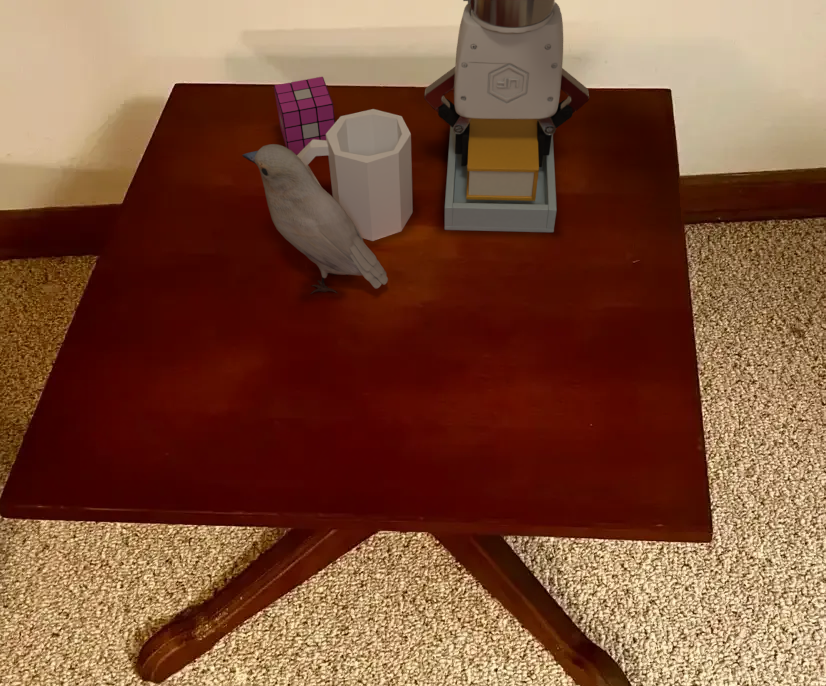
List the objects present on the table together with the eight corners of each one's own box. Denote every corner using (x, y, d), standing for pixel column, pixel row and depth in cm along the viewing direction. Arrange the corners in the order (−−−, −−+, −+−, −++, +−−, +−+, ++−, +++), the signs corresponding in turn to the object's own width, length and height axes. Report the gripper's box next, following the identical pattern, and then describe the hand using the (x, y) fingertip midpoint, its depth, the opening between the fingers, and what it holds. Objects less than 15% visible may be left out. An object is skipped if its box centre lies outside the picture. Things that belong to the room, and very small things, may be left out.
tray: (548, 133, 99) (551, 110, 97) (553, 232, 89) (556, 210, 86) (451, 132, 100) (451, 109, 98) (444, 230, 90) (444, 207, 88)
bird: (275, 248, 90) (252, 124, 78) (397, 279, 86) (391, 154, 74) (253, 279, 87) (225, 156, 75) (378, 314, 83) (368, 189, 71)
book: (535, 201, 89) (538, 169, 86) (466, 199, 89) (467, 168, 86) (533, 129, 96) (536, 98, 93) (469, 129, 97) (470, 97, 94)
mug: (414, 187, 94) (412, 108, 87) (410, 241, 89) (408, 163, 81) (304, 186, 96) (293, 109, 88) (294, 240, 90) (281, 162, 83)
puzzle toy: (280, 127, 103) (273, 84, 98) (327, 118, 103) (322, 75, 99) (288, 156, 99) (281, 113, 95) (337, 147, 100) (333, 103, 95)
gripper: (413, 18, 77) (417, 180, 91) (614, 18, 75) (587, 182, 89) (419, -24, 82) (421, 136, 95) (608, -25, 80) (583, 138, 94)
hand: (501, 157), depth 92 cm, fingers closed on book, 7 cm apart
